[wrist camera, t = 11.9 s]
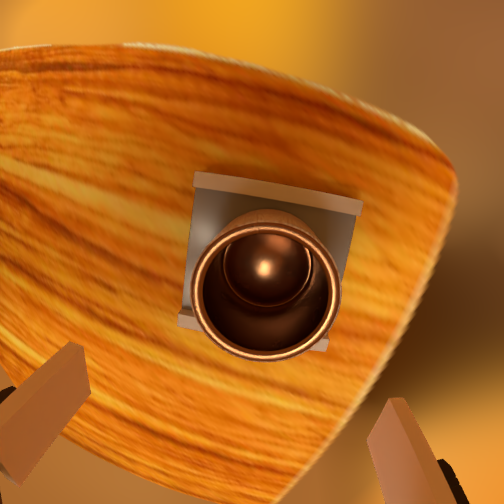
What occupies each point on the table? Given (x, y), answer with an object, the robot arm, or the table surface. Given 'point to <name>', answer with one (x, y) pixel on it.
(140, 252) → the table surface
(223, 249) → the planter
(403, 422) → the robot arm
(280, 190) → the grey square tray
